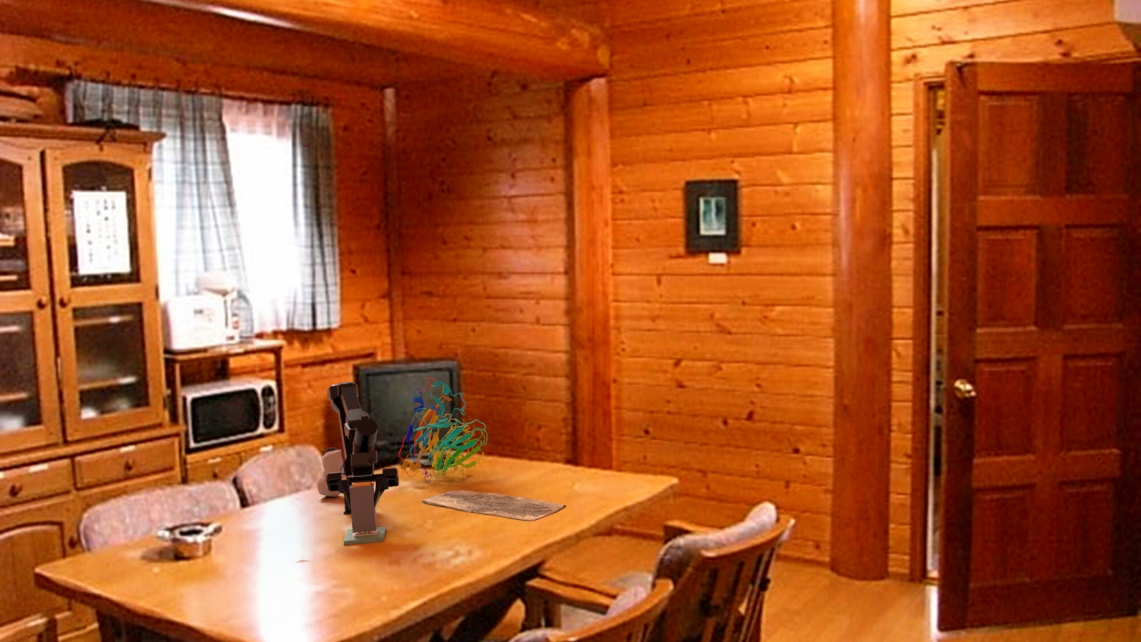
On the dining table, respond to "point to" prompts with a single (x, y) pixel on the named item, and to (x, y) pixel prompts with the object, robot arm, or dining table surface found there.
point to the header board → (365, 536)
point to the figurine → (329, 470)
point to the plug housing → (363, 507)
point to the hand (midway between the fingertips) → (362, 506)
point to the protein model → (435, 440)
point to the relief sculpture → (495, 504)
